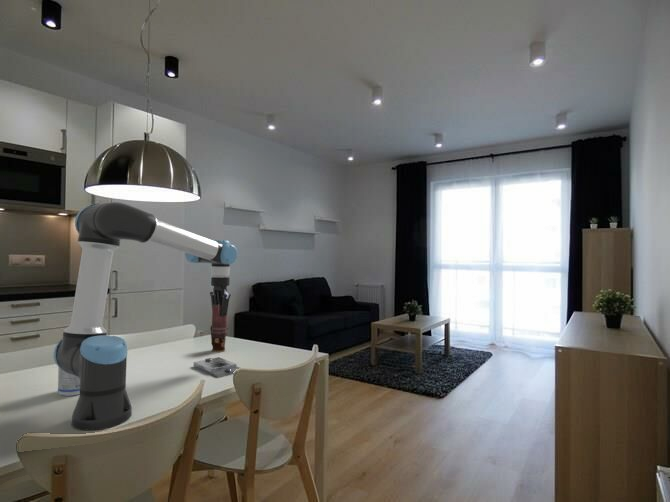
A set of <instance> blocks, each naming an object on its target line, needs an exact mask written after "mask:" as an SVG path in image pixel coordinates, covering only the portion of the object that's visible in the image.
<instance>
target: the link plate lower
mask: <svg viewBox="0 0 670 502" xmlns="http://www.w3.org/2000/svg"><path fill="white" fill-rule="evenodd" d="M222 366H227V365H225V364H222V363H220V364H216V365H211V367H214V368H217V367H222ZM239 368H241V367H239V366H237V365H236V367H231V368H226V369H222V370H217V371H213V372H210V371H207V370H205V369H203V368H200V369H199V370H200V371H201V372H202V371H203V372H204V373H206V374H209V375H210V376H213V377H216V378H217V379H218V378H222V377H225V376H226V377H227V376H230V375H234V374H233V372H234V371H235V370H236V369H239Z"/></svg>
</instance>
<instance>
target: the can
mask: <svg viewBox="0 0 670 502" xmlns="http://www.w3.org/2000/svg"><path fill="white" fill-rule="evenodd" d="M221 306H222V305H219V304H218V305H215V304H213V306H212V305H211V311H212V313H211V325H212V337H213V338H224V337H226V336H227V333H228V332H227V331H228V329H227V328H228V315H227V316H220V312H221ZM226 338H227V337H226Z"/></svg>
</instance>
